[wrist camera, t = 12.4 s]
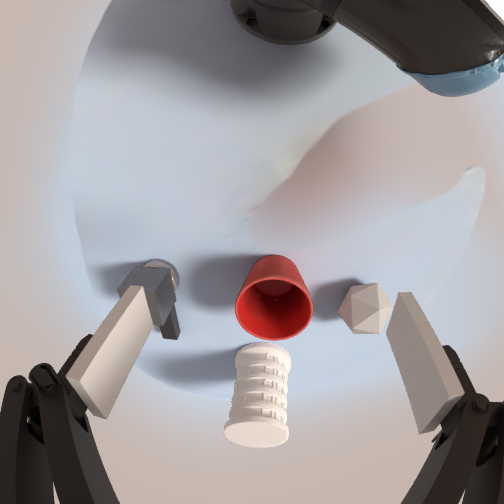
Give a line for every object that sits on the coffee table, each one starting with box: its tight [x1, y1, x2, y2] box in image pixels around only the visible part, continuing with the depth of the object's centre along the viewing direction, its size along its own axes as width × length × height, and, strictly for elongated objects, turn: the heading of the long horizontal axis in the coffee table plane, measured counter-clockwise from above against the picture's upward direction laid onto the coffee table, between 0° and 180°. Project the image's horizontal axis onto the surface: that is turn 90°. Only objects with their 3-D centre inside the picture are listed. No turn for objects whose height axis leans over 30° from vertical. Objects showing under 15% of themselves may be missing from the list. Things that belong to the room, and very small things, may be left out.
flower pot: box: [235, 255, 313, 341], centre depth 42 cm, size 11×11×10 cm
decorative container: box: [224, 342, 291, 448], centre depth 47 cm, size 12×12×18 cm
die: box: [337, 283, 393, 334], centre depth 43 cm, size 8×9×10 cm
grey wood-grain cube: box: [117, 266, 176, 326], centre depth 43 cm, size 6×6×7 cm
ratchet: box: [144, 259, 180, 340], centre depth 48 cm, size 16×7×6 cm, turn 1°
